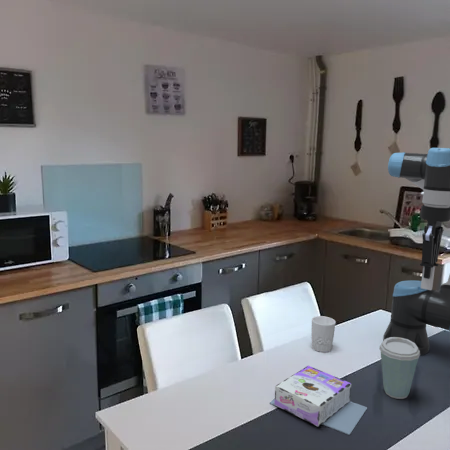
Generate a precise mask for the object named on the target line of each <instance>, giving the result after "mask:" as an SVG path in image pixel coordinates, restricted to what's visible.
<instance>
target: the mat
mask: <svg viewBox="0 0 450 450" xmlns="http://www.w3.org/2000/svg"><path fill="white" fill-rule="evenodd" d="M274 402H275V397H274V398H272V400H271V401H270V402H269V404H270V405H272V406H274V407H276V408H279V409H282V408H280V407H278V406H276V405H274ZM282 410H283V409H282ZM367 410H368V407H367V406H364V405H362V404H359V403H357V402H353V401H351V400H350V401H349V403H347V404H346V405H345V406H344V407H342V408H341V409H340V410H339V411H337V412H336V413H335V414H333V415H332V416H331V417H330V418H328V419H327V420H326V421H325V422H323V423H322V424H321V426H324V427H325V426H326V427H327V428H329V429H332V430H334V431H337V432H339V433H343V434H345V435H346V436H350V435H351V434H352V433H353V431H354V429H355V428H356V426H357V424H359V422H360V420H361V419H362V418H363V415H364V414H365V413H366V411H367Z"/></svg>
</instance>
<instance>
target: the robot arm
mask: <svg viewBox="0 0 450 450" xmlns="http://www.w3.org/2000/svg"><path fill="white" fill-rule="evenodd" d="M387 170H388V173H389V175H390V176H391V177H393V178H394V177H395V178H397V179H400V178H402V179H405V180H408V181H409V182H411V183H412V184H414V185H415V186H417V187H418V188H420V189H421V190H422V191H421V192H420V195H421V196H422V201H421V203H422V205H421V207H420V214H419V216H420V219H422V220H425V221H427V222H426V226H424V231H423V232H422V234H421V235H422V247H421V248H422V249H421V263H420V267H422V275H421V280H413V279H412V280H411V279H409V280H402V281H399V282H397V283H395V285H394V287H393V293H392V302H391V310H390V311H391V313H390V321H389V324H388V326H387V327H386V330H385V332H384V334H383V337H382V342H383V341H384V339H387V338H390V337H399V338H404V339H408V340H410V341H412V342H414V343H415V344H416V346H417V347H418V350H419V351H420V356H423V355H425V354H427V353H429V352H430V351H429V350H430V340H429V336H428V331H427V325H429V326H433V327H435V328H439V329H442V330H446V331H449V332H450V274H448V275H449V276H448V279H447V281H446V282H444V283H442V284H440V286H439V289H438V290H435V289H433V287H434V286H433V285H434V278H435V276H434V275H435V269H436V267H439V263H438V261H439V260H438V259H439V253H440V248H441V243H442V238H443V237H442V236H443V233H444V226H442V223H447V222H449V221H450V148H449V147H431V148H429V149H428V151H427V153H417V152H415V153H414V152H405V151H404V152H394V153H391V155H390V156H389V160H388V163H387Z"/></svg>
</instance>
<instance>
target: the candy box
mask: <svg viewBox="0 0 450 450" xmlns="http://www.w3.org/2000/svg"><path fill="white" fill-rule="evenodd" d="M351 391H352V383H351V382H349V381H346V380H345V379H342V378H339V377H337V376H335V375H333V374H330V373H327V372H325V371H323V370H320V369H318V368H315V367H313V366H310V365H306V366H305V367H304V368H302V369H300V370H299V371H297V372H296V373H294V374H293V375H291V376H289V377H288V378H286V379H284V380H283V381H281V382H279V383H278V384H276V385H275V386H274V398H275V402H274V405H276V406H278V407H277V408H279V407H280V408H279V409H281V408H282V410H283V411H286V412H288V413H290V414H292V415H293V416H296V417H297V418H300V419H302V420H304V421H306V422H308V423H310V424H312V425H314V426H316V427H320V426H322V423H323V422H325V421H326V420H327V419H328V418H330V417H331V416H332V415H333V414H335V413H336V412H337V411H339V410H340V409H341V408H342V407H344V406H345V405H346V404H347V403H349V401H351ZM274 405H273V406H274ZM276 406H275V407H276Z"/></svg>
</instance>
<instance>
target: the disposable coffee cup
mask: <svg viewBox="0 0 450 450" xmlns="http://www.w3.org/2000/svg"><path fill="white" fill-rule="evenodd" d="M379 351H380V361H381V374H382V383H383V390H384V393H385V394H386V395H387V396H389V397H390V398H392V399H397V400H404V399H407V398H408V396H409V395H410V391H411V388H412V383H413V381H414V380H413V379H414V376H415V373H416V369H417V364H418V361H419V358H420V356H421V355H420V351H419V350H418V347H417V346H416V344H415V343H414V342H412V341H410V340H408V339H404V338H399V337H390V338H387V339H384V341H383V340H382V343H381V344H380V345H379Z"/></svg>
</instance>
